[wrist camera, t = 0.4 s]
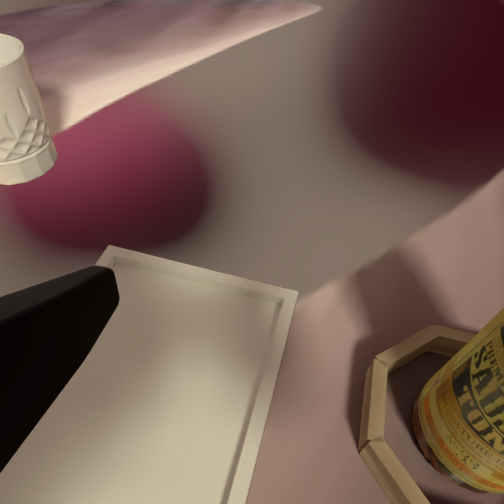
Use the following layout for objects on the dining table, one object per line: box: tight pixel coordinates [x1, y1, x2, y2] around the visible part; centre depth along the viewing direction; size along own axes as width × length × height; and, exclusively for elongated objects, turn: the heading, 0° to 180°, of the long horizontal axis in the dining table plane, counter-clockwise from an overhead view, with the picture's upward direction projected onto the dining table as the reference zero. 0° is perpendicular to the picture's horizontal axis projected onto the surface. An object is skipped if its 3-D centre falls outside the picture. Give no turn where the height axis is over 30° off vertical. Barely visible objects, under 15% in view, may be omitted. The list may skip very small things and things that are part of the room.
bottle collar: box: [358, 324, 477, 504], centre depth 22 cm, size 12×12×2 cm
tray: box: [0, 245, 298, 504], centre depth 23 cm, size 18×14×2 cm
